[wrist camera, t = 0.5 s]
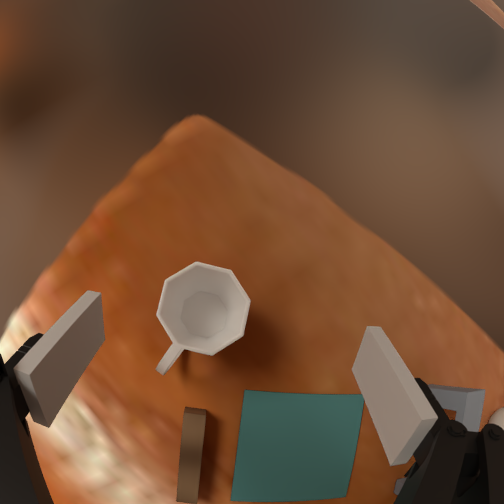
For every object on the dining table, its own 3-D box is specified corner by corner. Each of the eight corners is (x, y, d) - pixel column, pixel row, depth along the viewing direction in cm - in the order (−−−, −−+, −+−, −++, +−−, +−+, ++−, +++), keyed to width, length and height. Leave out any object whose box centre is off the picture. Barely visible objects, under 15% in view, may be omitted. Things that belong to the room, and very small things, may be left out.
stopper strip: (197, 493, 25) (197, 504, 23) (178, 490, 25) (176, 501, 23) (206, 409, 28) (206, 415, 26) (185, 406, 28) (183, 412, 25)
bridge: (432, 384, 32) (485, 389, 23) (412, 488, 28) (455, 511, 19) (414, 385, 31) (467, 392, 23) (393, 492, 27) (436, 519, 19)
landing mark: (344, 496, 27) (345, 496, 27) (230, 499, 26) (230, 500, 25) (363, 394, 30) (364, 394, 30) (244, 389, 29) (244, 390, 29)
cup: (253, 307, 31) (269, 297, 24) (195, 389, 28) (192, 406, 21) (196, 265, 32) (193, 242, 24) (137, 346, 29) (114, 349, 21)
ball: (497, 435, 31) (522, 440, 26) (477, 442, 30) (503, 448, 25) (503, 402, 32) (529, 404, 27) (484, 407, 32) (511, 411, 27)
